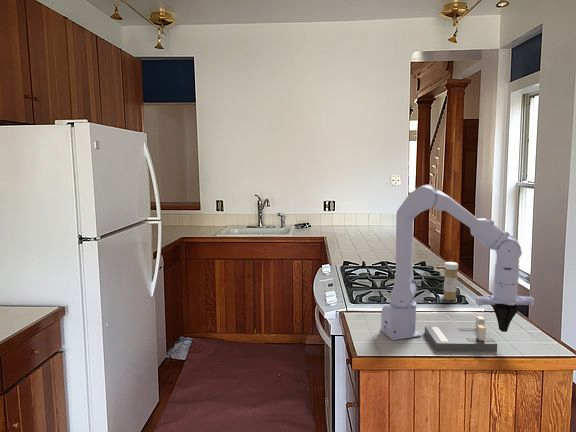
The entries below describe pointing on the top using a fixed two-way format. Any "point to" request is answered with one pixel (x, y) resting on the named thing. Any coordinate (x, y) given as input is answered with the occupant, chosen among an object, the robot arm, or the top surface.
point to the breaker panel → (458, 339)
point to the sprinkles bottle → (450, 280)
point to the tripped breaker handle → (480, 332)
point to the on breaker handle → (480, 320)
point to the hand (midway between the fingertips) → (502, 330)
